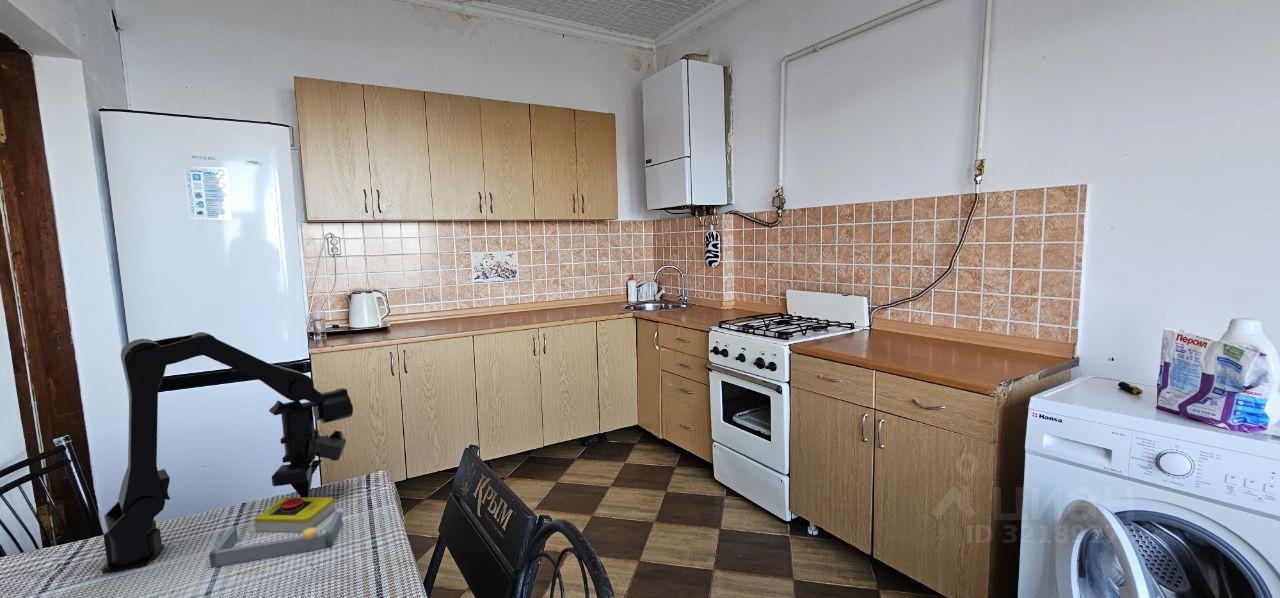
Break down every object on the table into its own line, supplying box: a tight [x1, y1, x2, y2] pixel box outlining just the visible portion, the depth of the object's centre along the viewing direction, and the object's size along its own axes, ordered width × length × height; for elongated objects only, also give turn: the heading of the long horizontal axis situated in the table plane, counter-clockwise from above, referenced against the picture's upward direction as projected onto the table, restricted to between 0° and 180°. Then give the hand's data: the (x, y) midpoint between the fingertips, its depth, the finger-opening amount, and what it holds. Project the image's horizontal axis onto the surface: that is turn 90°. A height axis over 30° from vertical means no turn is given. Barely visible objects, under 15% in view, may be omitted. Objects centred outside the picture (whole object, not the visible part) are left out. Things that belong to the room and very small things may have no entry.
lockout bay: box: [208, 511, 343, 568], centre depth 103 cm, size 19×10×4 cm, turn 107°
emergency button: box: [248, 496, 346, 534], centre depth 112 cm, size 9×4×15 cm
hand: (305, 498), depth 119 cm, fingers closed
